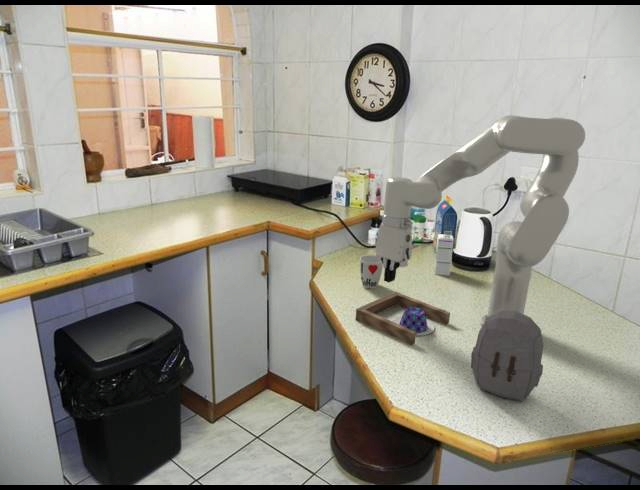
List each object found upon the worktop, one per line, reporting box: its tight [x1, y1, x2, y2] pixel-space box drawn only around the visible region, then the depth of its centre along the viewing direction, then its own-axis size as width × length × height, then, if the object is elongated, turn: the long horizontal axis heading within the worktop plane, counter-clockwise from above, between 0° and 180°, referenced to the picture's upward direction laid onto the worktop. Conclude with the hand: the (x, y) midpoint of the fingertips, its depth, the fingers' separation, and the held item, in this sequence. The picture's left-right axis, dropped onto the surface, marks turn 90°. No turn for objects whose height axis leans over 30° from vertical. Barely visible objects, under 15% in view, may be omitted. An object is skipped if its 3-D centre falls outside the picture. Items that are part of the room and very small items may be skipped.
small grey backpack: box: [470, 311, 545, 401], centre depth 103 cm, size 15×8×20 cm, turn 59°
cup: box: [359, 254, 384, 289], centre depth 162 cm, size 8×8×10 cm
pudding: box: [392, 307, 435, 336], centre depth 135 cm, size 12×12×5 cm
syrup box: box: [434, 234, 454, 276], centre depth 176 cm, size 6×6×14 cm
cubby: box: [355, 291, 451, 346], centre depth 138 cm, size 20×19×4 cm
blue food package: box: [432, 193, 458, 255], centre depth 196 cm, size 6×12×25 cm, turn 178°
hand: (389, 280), depth 138 cm, fingers closed
